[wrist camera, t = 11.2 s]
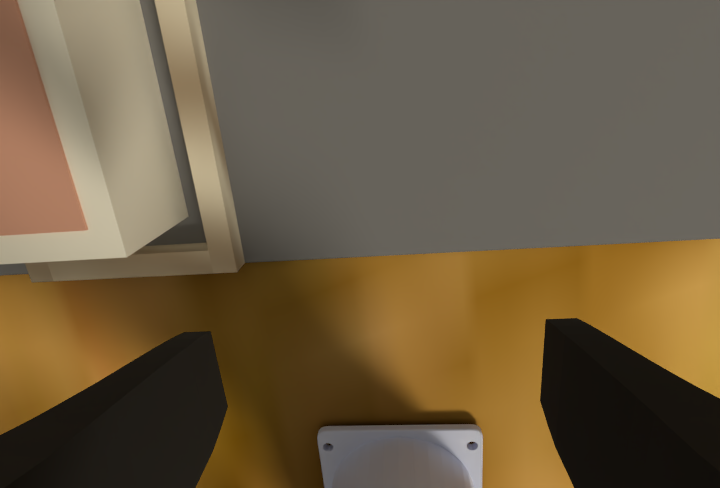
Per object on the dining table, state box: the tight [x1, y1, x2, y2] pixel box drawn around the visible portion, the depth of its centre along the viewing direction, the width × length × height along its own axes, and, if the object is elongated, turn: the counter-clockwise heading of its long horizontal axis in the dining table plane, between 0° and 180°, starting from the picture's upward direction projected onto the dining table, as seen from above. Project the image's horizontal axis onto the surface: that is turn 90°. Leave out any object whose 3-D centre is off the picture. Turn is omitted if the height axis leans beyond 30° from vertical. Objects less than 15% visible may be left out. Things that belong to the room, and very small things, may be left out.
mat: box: [0, 0, 720, 275], centre depth 16 cm, size 13×34×1 cm, turn 95°
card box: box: [0, 0, 189, 264], centre depth 15 cm, size 9×5×5 cm, turn 5°
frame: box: [25, 0, 245, 282], centre depth 17 cm, size 13×9×1 cm
